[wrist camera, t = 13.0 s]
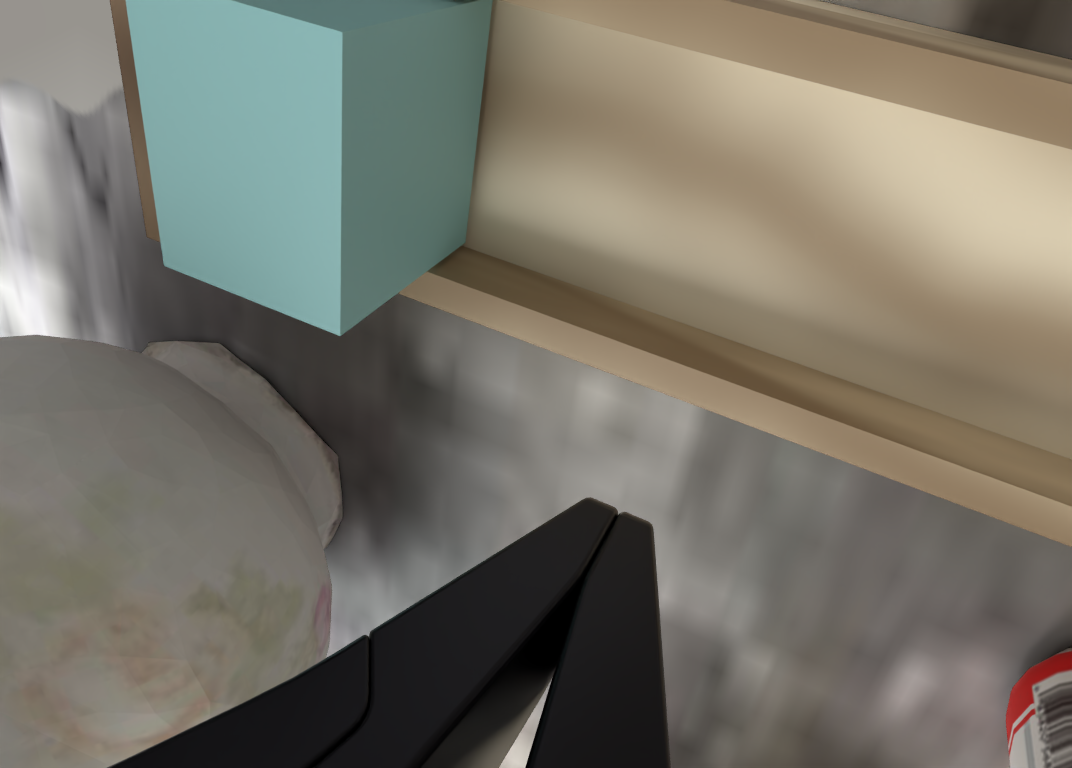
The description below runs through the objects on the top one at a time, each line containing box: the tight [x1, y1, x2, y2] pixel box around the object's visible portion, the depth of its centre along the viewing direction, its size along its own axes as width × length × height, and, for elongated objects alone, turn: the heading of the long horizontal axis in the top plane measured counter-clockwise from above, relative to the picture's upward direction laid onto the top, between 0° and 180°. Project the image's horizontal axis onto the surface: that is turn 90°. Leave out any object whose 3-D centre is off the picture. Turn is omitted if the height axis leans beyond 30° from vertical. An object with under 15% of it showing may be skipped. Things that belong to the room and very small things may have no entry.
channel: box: [110, 0, 1072, 547], centre depth 18 cm, size 9×28×5 cm, turn 80°
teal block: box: [126, 0, 493, 336], centre depth 18 cm, size 6×5×6 cm
